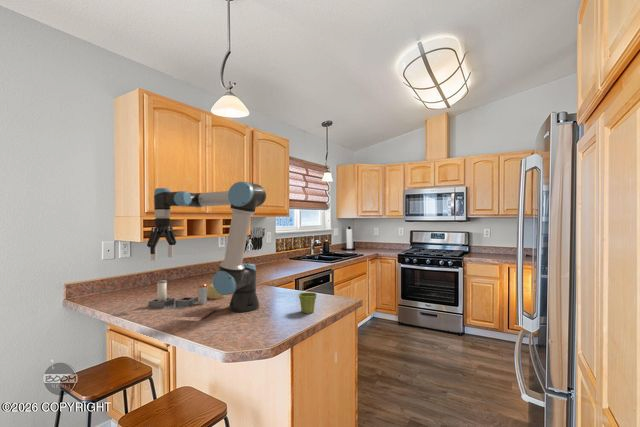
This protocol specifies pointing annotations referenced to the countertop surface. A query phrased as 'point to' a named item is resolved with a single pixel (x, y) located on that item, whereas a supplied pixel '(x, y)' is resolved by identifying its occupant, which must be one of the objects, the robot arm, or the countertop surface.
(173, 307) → the dock
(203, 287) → the pin
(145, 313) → the countertop surface
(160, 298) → the cream round peg
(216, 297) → the sculpture
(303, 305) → the plant pot
